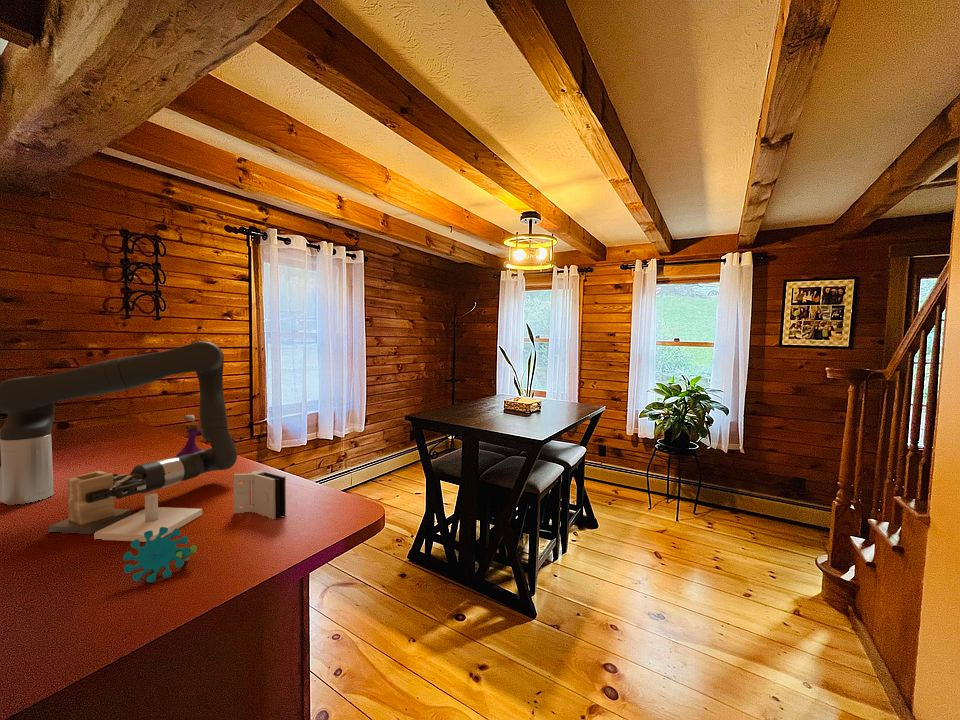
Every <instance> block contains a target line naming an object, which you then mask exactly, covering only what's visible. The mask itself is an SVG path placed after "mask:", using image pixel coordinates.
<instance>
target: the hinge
mask: <svg viewBox="0 0 960 720" xmlns="http://www.w3.org/2000/svg"><path fill="white" fill-rule="evenodd" d="M286 476H287V475H283V474H280V473H276V472H273V471H272V472H271V471H268V470H266V471H264V470H261V469H259V470H258V469H257V470H253V471H251V472H250V473H248V472H247V473H234V474H233V504H234V505H233V506H234V507H233V508H234V509H233V513H234V514H245V513H244V512H252V513H254V512H255V513H254V514H256V513H258V514H257V515H259V514H261V515H260V516H262V515H264V516H267V517H270V518H272V519H271V520H273V519H274V518H280V519H281V517H280V516H285V517H286V515H287V480H286V479H287V477H286ZM241 481H242V482H241ZM241 505H242V506H241ZM285 514H286V515H285ZM264 516H263V517H264ZM267 517H266V518H267ZM270 518H269V519H270ZM274 520H275V519H274Z"/></svg>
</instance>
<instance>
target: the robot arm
mask: <svg viewBox="0 0 960 720" xmlns="http://www.w3.org/2000/svg"><path fill="white" fill-rule="evenodd" d="M224 360H225V355H224V352H223V351H222V349H221V348H220V347H219V346H217V345H216V344H215V343H213V342H210V341H202V340H201V341H196V342H193V343H189V344H185V345H182V346H179V347H175V348H172V349H169V350H164V351H160V352H159V351H157V352H149V353H143V354H135V355H129V356H123V357H117V358H114V359H113V358H112V359H108V360H103V361H99V362H95V363H91V364H87V365H84V366H81V367H77V368H73V369H70V370H66V371H63V372H58V373H52V374H48V375H40V376H33V375H31V376H30V375H29V376H20V377H14V378H9V379H6V380H4V381H2V382H0V411H1V412H4V413H7V418H6V422H5V423H4V424H3V426H2V427H1V428H0V463H1V466H0V501H1V502H0V503H2V504H3V503H4V504H7V505H6V506H16V505H17V504H20V505H26V504H25V503H27V504H30V502H32V503H36V502H39V501H38V500H40V501H43V500H46V499H49V498H51V497H53V495H54V473H53V471H54V469H53V468H54V467H53V449H52V447H53V444H52V426H53V423H54V420H55V403H57V402H61V401H67V400H70V399H79V398H87V397H94V396H100V395H105V394H112V393H116V392H117V393H118V392H121V391H127V390H130V389H136V388H138V387H141V386H146V385H148V384H150V383H153V382H155V381H156V382H157V380H161V379H163V378H166V377H170V376H175V375H179V374H187V373H193V372H195V374H196V377H197V380H198V386H199V405H198V406H199V407H198V408H199V413H198V415H199V424H200V425H199V427H200V430H201V431H200V432H201V437H202V438H203V440H205V441H208V442H209V444H210V446H211V447H210V448H206V449H201V450H202V451H199V452H196V453H193V454H187V455H183V456H179V457H175V456H174V457H168V458H162V459H158V460H154V461H150V462H145V463H142V464H138V465H135V466H134V467H133V469H132V470H131V472H130V474H127V473H123V474H119V475H118V473H112V474H113V486H111V487H109V488H108V490H107V489H106V488H105V489H102V490H98V491H94V492H90V493H87V494H86V502H87V503H92V502H95V501H99V500H102V499H106V498H107V497H108V498H114V499H116V500H119V499H123V498H127V497H130V496H134V495H138V494H140V495H144V494H148V493H150V492H151V493H152V492H153V491H157V490H161V489H164V488H167V487H171V486H173V485H175V484H178V483H180V482H184V481H187V480H191V479H194V478H196V477H198V476H200V475H202V474H205V473H209V472H213V471H215V472H217V471H226V470H229V469H231V468H232V467H234V465H235V464H236V463H237V458H238V451H237V447H236V445H235V442H234V440H233V437H232V435H231V434H230V431H229V424H228V423H229V422H228V416H227V409H226V403H225V395H224V382H223V381H224V379H223V377H224V376H223V375H224V374H223V373H224V365H225V363H224ZM50 496H51V497H50ZM48 497H49V498H48ZM42 499H43V500H42ZM35 501H36V502H35ZM4 504H3V505H4ZM15 504H16V505H15Z"/></svg>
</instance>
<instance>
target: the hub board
mask: <svg viewBox="0 0 960 720" xmlns="http://www.w3.org/2000/svg"><path fill="white" fill-rule="evenodd" d="M158 495H159V494H158V493H157V492H151V493H146V494H145V495H144V509H141V510H139V511H138V512H134V513H133V514H131V516H129V517H127V518H124V519H122V520H120V521H118V522H116V523H114V524H112V525H110V526H107V527H105V528H103V529H101V530H99V531H97V532H95V533H93V535H94V536H93V538H94V540H96V539H102V540H101V541H122V542H123V541H124V542H133V541H134V540H136V539H138V540H139V542H142V543H146V538H145V537H144V533H145V532H147V531H152V532H153V535H152V537H151V538H150V539H149V540H154V539H155V538H156V537H157V536H158V534H159V529H160V528H161V527H166V528H168V532H167V533H166V534H164V535H162V536H161V538H165V537H167V536H169V535H170V534H171V533H172V532H173V530H174V529H176V528H177V529H179V530H180V528H182V527H184V526H185V525H187V524H189V523H190V522H193V521H194V520H196V519H198V518H199V517H201V516H203V508H194V507H193V508H192V507H190V508H188V507H167V506H165V507H163V506H161V507H160V506H159V497H158Z"/></svg>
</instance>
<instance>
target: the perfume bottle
mask: <svg viewBox="0 0 960 720" xmlns="http://www.w3.org/2000/svg"><path fill="white" fill-rule="evenodd" d="M195 419H196V417H195V415H194V414H187V415H184V416H183V420H184V421H185V422H186V421H187V420H190V421H191V422H192V424H191V423H190V424H188V425H187V427H188V428H187V429H186V430H185V433H188V439H187V441H186V443H185V445H184V447H182V449H181V450H180V451H179V452H178V453H177V454H176V455H175V456H174V457H179V456H183V455H187V454H193V453H196V452H199V451H202V450H203V449H201V448H200V447H199V446H198V445H197V444H196V436H197V434H199V432H201V428H199V427H200V425H199V423H195V422H194V421H195Z"/></svg>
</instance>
